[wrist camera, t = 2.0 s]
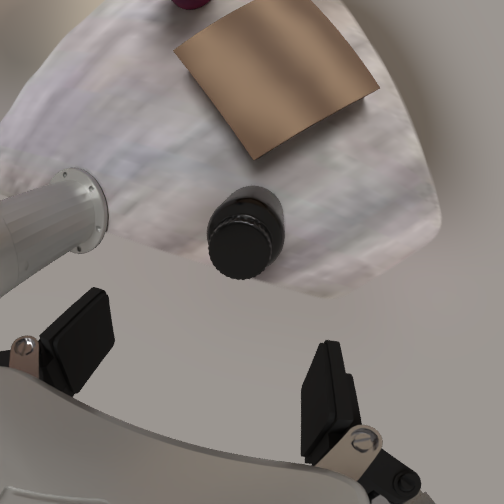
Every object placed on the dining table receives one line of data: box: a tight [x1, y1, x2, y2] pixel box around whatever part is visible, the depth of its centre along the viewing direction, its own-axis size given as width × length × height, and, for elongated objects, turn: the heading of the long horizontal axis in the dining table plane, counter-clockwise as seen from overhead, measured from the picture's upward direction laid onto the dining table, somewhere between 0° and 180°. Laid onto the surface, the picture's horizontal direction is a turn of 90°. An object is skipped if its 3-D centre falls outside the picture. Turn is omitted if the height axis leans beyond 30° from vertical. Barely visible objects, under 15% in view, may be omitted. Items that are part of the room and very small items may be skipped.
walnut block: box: [173, 0, 380, 160], centre depth 23 cm, size 14×14×6 cm
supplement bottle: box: [207, 186, 285, 280], centre depth 26 cm, size 7×7×12 cm
